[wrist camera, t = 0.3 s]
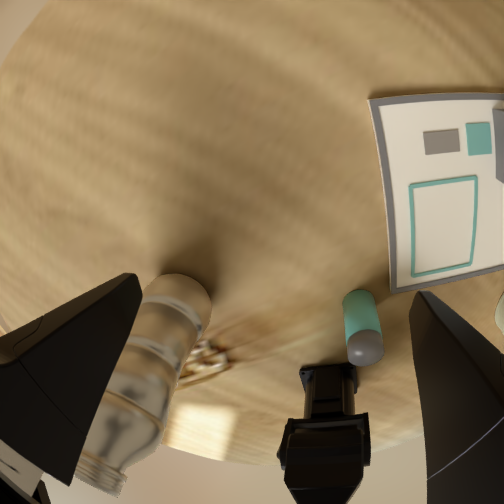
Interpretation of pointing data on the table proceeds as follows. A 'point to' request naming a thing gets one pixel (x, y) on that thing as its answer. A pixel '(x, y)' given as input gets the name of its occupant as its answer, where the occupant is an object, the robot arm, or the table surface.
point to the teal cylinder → (362, 329)
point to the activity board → (441, 185)
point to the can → (500, 314)
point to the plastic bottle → (144, 381)
